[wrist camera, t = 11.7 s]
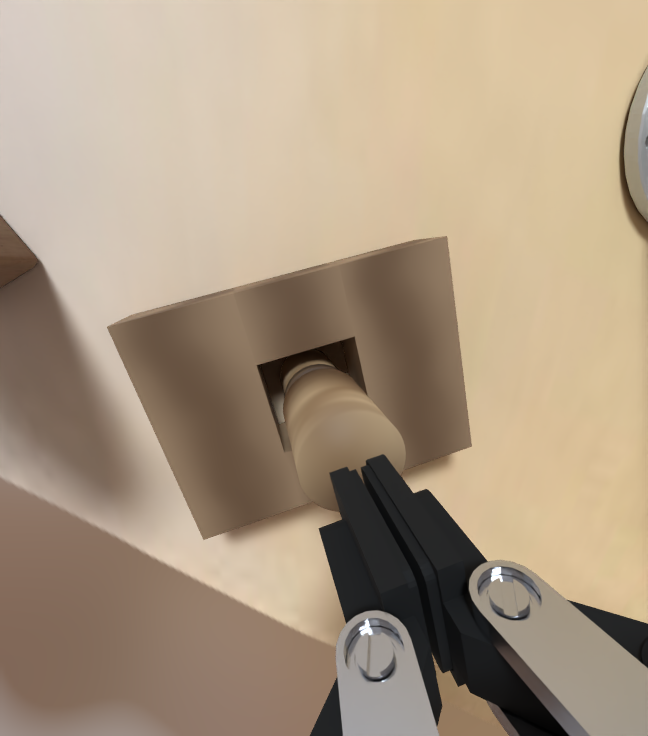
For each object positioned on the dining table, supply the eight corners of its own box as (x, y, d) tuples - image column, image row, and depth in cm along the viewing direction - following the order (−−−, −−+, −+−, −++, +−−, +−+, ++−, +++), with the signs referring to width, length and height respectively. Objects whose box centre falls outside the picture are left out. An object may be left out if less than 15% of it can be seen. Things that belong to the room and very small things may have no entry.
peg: (329, 336, 21) (395, 397, 12) (343, 393, 22) (413, 491, 13) (267, 354, 21) (284, 433, 11) (284, 411, 22) (313, 526, 13)
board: (414, 240, 21) (446, 236, 17) (441, 421, 24) (471, 446, 21) (131, 315, 19) (106, 326, 15) (209, 499, 23) (203, 539, 19)
